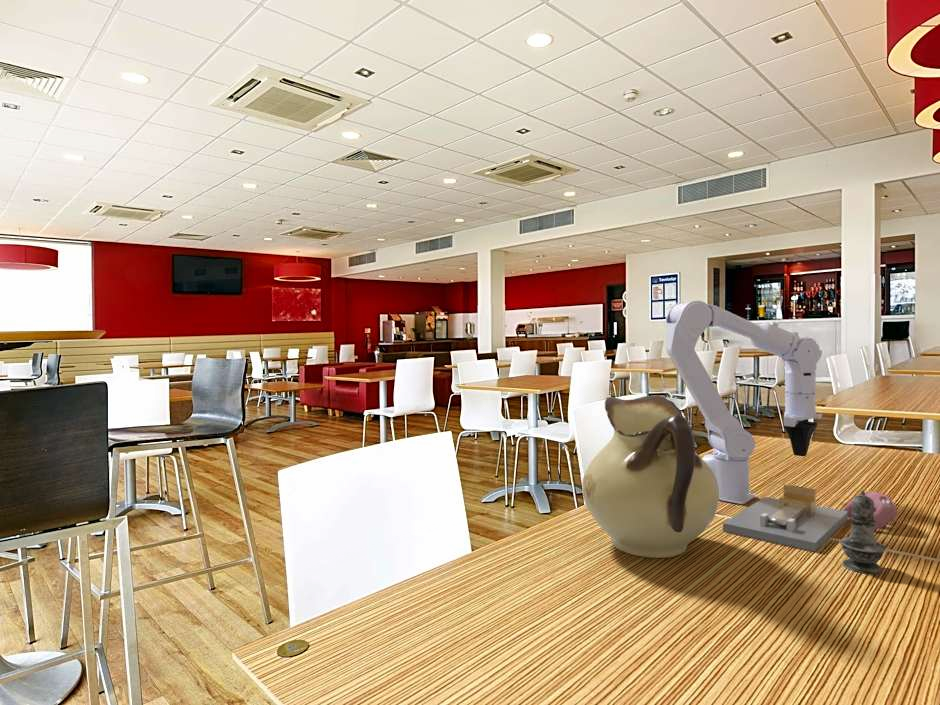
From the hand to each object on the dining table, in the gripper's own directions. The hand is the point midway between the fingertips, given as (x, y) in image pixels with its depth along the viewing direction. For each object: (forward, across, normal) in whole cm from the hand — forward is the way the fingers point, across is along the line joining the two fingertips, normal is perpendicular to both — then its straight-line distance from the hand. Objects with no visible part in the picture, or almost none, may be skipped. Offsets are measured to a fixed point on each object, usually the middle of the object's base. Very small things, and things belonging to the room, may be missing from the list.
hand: (800, 455), depth 128 cm
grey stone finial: (+9, -34, -19) cm, 40 cm away
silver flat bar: (+7, -23, -5) cm, 24 cm away
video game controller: (+9, -10, -15) cm, 20 cm away
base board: (+9, -22, -5) cm, 24 cm away
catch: (+7, -17, -5) cm, 19 cm away
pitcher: (+9, -48, +9) cm, 49 cm away
